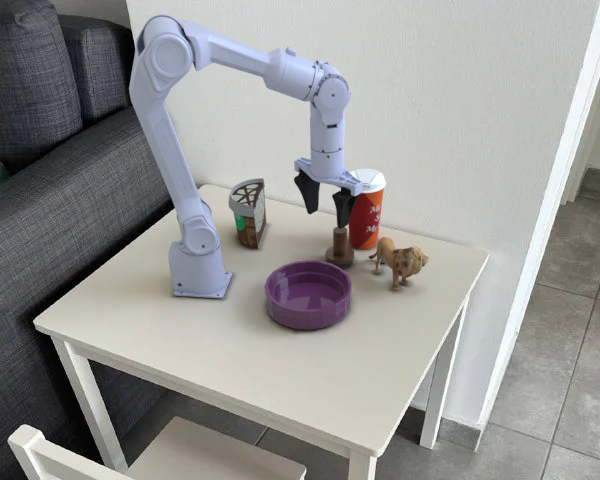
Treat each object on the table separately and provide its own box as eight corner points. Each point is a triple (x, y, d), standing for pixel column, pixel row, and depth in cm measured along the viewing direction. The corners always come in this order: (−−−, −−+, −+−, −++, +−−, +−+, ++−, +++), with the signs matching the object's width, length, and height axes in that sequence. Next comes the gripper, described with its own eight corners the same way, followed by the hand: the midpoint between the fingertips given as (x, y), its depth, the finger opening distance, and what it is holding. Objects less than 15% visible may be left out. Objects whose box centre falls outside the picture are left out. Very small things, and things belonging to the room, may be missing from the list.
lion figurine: (428, 291, 114) (434, 248, 108) (406, 301, 112) (410, 258, 106) (378, 255, 123) (381, 213, 117) (357, 264, 121) (358, 222, 115)
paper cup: (380, 253, 123) (384, 187, 113) (342, 251, 125) (342, 185, 115) (383, 232, 129) (388, 167, 119) (346, 230, 130) (347, 165, 120)
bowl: (259, 328, 109) (257, 308, 105) (275, 278, 119) (273, 258, 116) (346, 335, 107) (346, 314, 103) (354, 283, 117) (355, 262, 114)
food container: (239, 220, 135) (234, 176, 127) (267, 221, 134) (264, 177, 127) (227, 251, 126) (220, 206, 119) (257, 253, 125) (252, 207, 118)
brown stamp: (323, 269, 120) (323, 236, 115) (327, 253, 124) (327, 221, 119) (352, 271, 120) (353, 238, 114) (355, 255, 123) (356, 222, 118)
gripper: (376, 150, 103) (372, 224, 113) (312, 126, 110) (314, 198, 120) (347, 164, 100) (345, 239, 109) (284, 139, 107) (288, 211, 117)
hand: (327, 218), depth 114 cm, fingers open, 7 cm apart
